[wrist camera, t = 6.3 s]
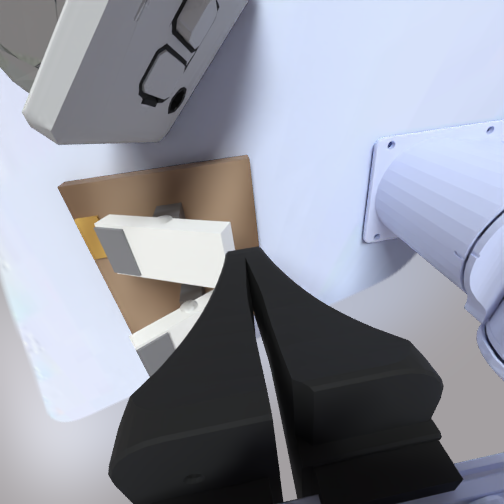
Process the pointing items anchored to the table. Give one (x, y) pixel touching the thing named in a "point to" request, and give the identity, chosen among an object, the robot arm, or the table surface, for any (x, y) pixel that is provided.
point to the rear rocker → (167, 333)
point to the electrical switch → (110, 63)
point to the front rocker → (166, 247)
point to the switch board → (160, 187)
